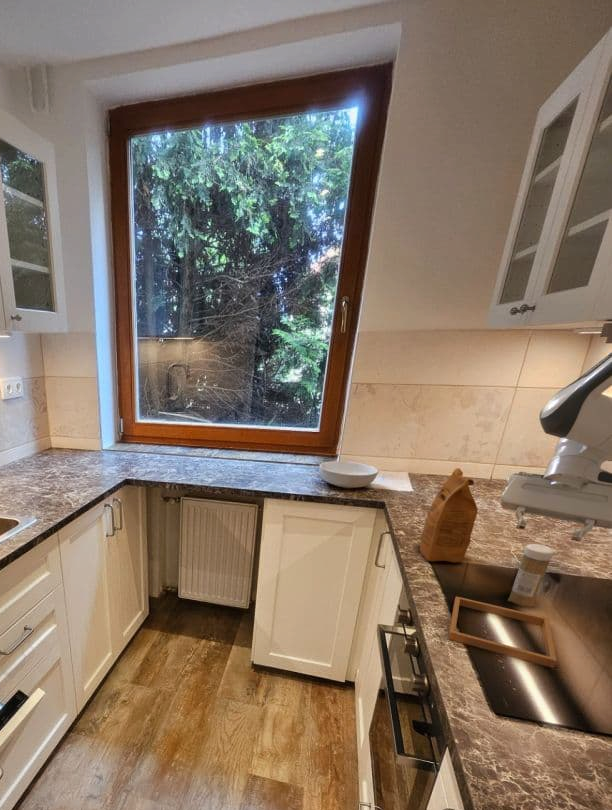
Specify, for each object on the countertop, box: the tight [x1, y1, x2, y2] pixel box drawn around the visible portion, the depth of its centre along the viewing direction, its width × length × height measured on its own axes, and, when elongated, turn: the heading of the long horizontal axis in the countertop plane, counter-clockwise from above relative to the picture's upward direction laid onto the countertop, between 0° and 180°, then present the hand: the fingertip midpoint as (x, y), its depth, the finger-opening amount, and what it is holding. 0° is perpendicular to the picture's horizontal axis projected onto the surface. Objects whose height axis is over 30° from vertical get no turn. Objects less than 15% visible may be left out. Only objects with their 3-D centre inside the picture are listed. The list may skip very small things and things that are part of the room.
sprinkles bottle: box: [507, 543, 555, 607], centre depth 97 cm, size 5×5×14 cm
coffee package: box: [419, 467, 479, 563], centre depth 118 cm, size 10×12×22 cm
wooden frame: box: [447, 596, 558, 669], centre depth 89 cm, size 16×16×3 cm
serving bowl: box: [318, 460, 379, 489], centre depth 179 cm, size 21×21×7 cm
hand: (547, 533), depth 99 cm, fingers open, 8 cm apart
